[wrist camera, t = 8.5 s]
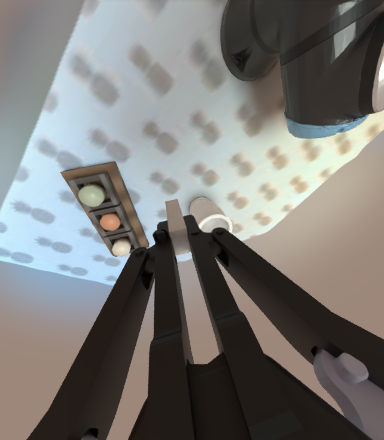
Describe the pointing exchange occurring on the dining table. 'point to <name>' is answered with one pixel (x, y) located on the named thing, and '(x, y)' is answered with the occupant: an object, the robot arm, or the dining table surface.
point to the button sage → (92, 195)
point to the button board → (109, 203)
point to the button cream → (121, 247)
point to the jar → (209, 215)
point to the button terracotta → (110, 221)
